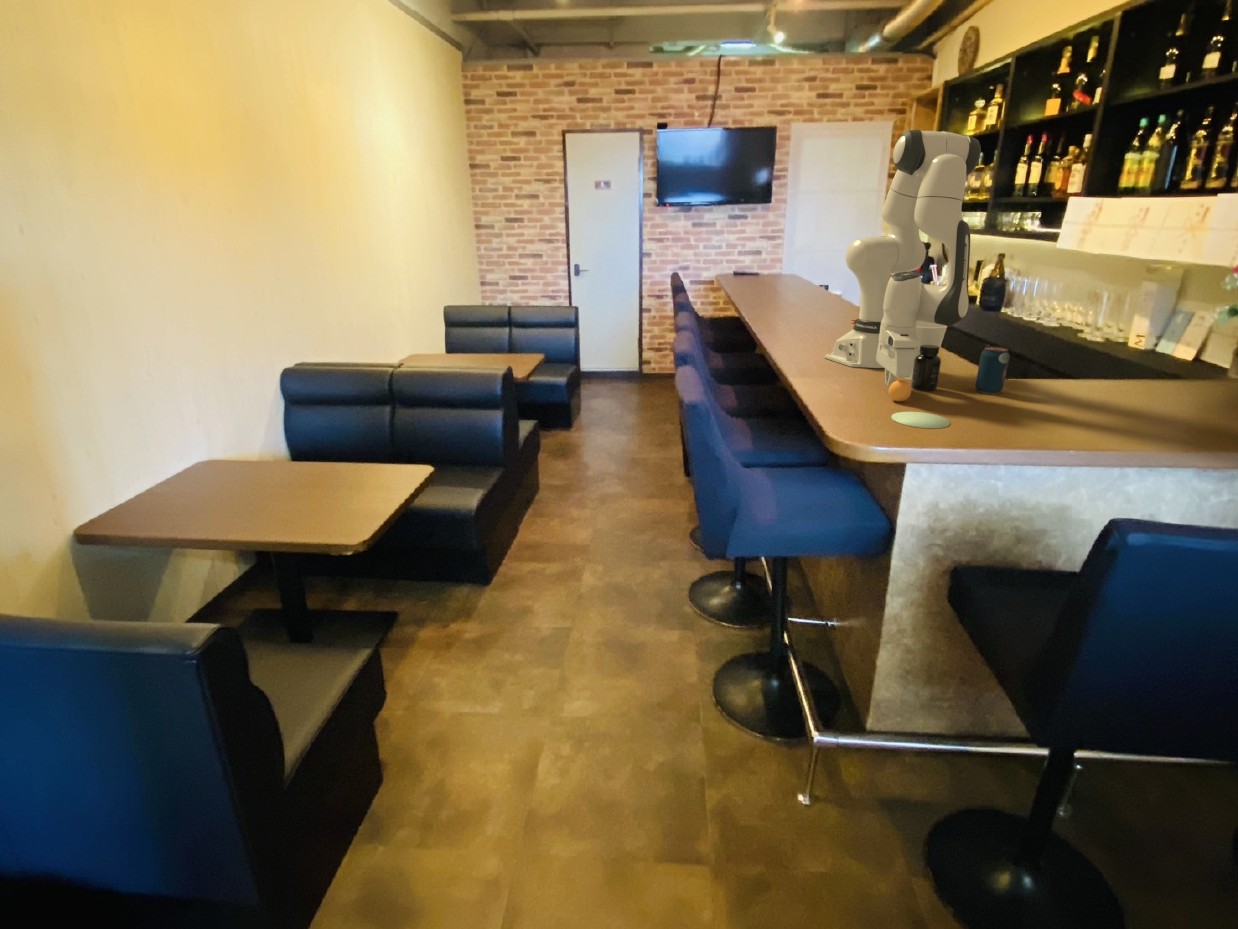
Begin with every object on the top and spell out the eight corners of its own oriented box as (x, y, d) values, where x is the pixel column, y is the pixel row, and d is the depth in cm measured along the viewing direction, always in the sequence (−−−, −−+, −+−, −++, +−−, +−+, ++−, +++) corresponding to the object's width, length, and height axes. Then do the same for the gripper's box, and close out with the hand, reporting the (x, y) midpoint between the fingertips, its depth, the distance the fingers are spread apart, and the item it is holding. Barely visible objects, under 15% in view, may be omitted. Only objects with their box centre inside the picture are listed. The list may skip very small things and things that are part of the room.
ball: (882, 400, 183) (885, 379, 181) (896, 397, 186) (899, 377, 184) (900, 405, 179) (903, 384, 177) (914, 402, 181) (917, 381, 179)
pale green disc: (879, 417, 168) (879, 416, 168) (914, 409, 175) (914, 408, 175) (926, 431, 158) (926, 430, 158) (961, 423, 164) (961, 422, 164)
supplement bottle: (932, 386, 197) (939, 344, 193) (940, 392, 191) (947, 348, 187) (907, 385, 198) (913, 343, 194) (914, 391, 192) (921, 348, 187)
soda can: (1007, 394, 189) (1016, 351, 184) (981, 394, 189) (989, 350, 185) (994, 388, 195) (1003, 345, 191) (969, 388, 195) (977, 345, 191)
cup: (886, 375, 210) (894, 321, 204) (919, 372, 213) (927, 319, 207) (913, 384, 199) (922, 328, 193) (947, 381, 202) (957, 326, 197)
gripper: (873, 328, 195) (867, 377, 200) (896, 342, 176) (888, 395, 181) (896, 329, 194) (890, 377, 199) (921, 342, 175) (913, 396, 180)
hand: (889, 386), depth 190 cm, fingers closed
